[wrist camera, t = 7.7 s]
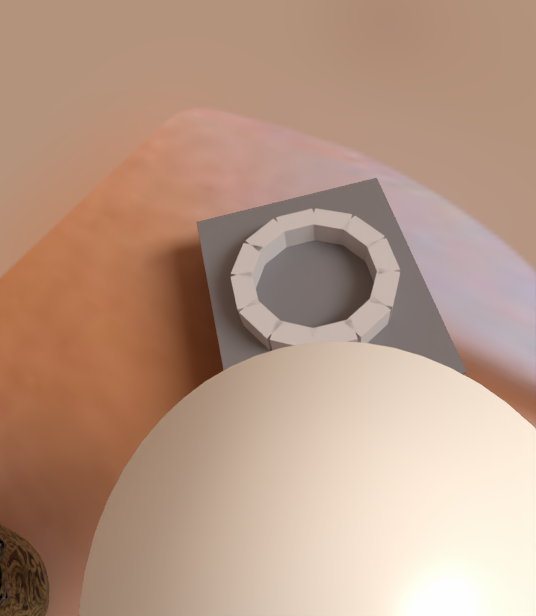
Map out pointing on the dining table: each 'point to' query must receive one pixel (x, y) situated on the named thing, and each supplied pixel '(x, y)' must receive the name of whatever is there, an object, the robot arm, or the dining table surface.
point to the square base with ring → (319, 278)
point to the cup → (21, 577)
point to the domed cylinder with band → (324, 495)
